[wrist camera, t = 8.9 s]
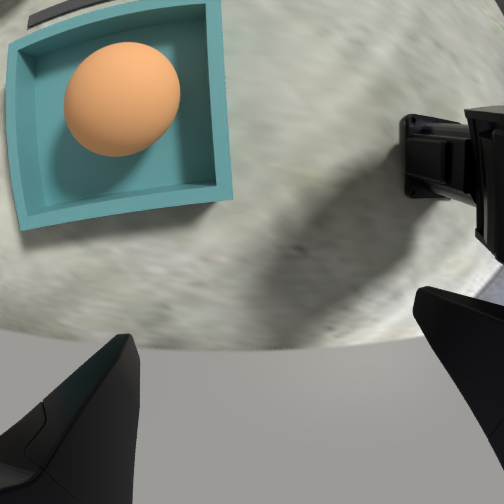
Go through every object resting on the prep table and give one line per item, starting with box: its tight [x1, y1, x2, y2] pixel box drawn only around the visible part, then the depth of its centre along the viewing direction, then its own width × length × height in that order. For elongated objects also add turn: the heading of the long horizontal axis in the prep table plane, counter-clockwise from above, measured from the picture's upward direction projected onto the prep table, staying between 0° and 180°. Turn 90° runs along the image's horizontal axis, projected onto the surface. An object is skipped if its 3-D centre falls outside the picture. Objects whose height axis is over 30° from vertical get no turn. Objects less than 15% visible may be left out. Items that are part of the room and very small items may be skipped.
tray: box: [6, 0, 233, 231], centre depth 14 cm, size 13×12×3 cm
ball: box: [64, 42, 180, 157], centre depth 12 cm, size 6×6×6 cm
